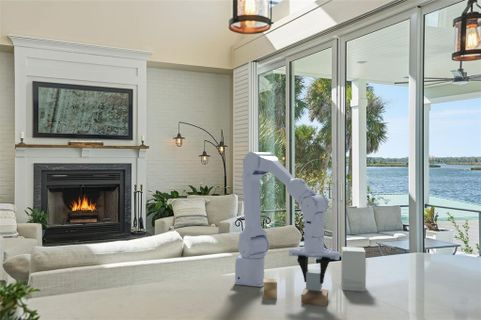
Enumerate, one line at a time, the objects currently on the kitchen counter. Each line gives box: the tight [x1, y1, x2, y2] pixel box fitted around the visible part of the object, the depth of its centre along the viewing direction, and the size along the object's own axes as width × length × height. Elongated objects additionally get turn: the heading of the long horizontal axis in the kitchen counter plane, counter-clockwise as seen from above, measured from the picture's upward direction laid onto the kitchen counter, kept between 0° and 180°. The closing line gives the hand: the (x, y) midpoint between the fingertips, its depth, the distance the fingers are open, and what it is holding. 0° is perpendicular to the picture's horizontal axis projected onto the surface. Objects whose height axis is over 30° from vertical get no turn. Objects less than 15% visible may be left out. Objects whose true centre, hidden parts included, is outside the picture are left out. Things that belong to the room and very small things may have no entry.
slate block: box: [305, 268, 323, 291], centre depth 125 cm, size 4×4×5 cm
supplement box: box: [340, 246, 367, 292], centre depth 137 cm, size 7×7×13 cm
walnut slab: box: [300, 287, 329, 307], centre depth 124 cm, size 7×7×3 cm
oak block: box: [263, 277, 278, 300], centre depth 128 cm, size 4×4×5 cm
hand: (313, 282), depth 124 cm, fingers closed on slate block, 4 cm apart
